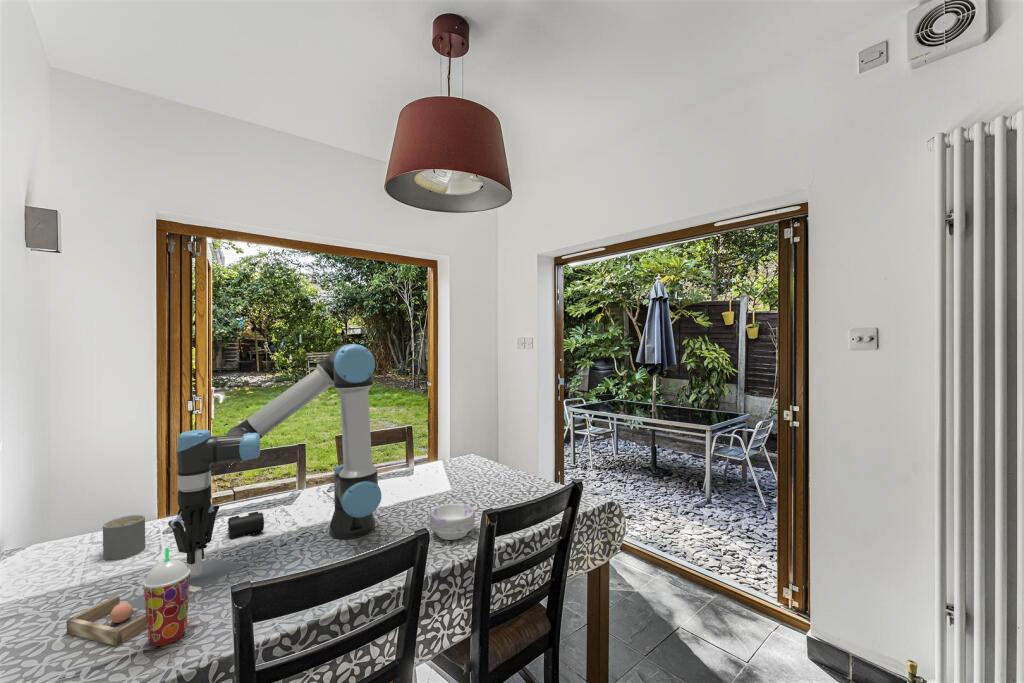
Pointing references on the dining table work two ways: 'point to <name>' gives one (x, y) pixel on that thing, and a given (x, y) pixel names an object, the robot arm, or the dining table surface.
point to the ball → (121, 612)
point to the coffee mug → (123, 537)
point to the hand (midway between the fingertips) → (195, 573)
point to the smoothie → (167, 600)
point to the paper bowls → (452, 520)
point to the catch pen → (101, 633)
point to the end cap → (245, 525)
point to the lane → (199, 578)
